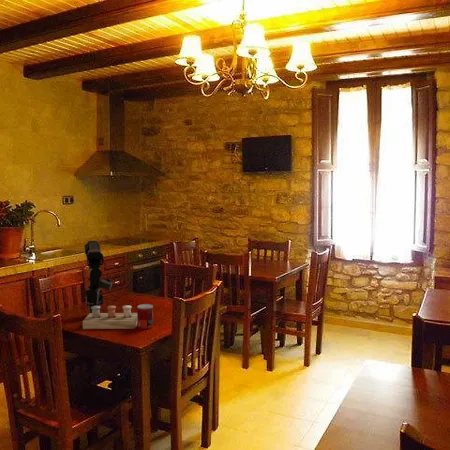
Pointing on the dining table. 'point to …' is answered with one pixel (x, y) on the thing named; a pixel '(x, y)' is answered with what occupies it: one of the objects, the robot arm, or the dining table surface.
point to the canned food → (145, 316)
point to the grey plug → (95, 311)
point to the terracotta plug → (111, 311)
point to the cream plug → (127, 311)
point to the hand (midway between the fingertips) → (95, 305)
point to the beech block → (110, 321)
